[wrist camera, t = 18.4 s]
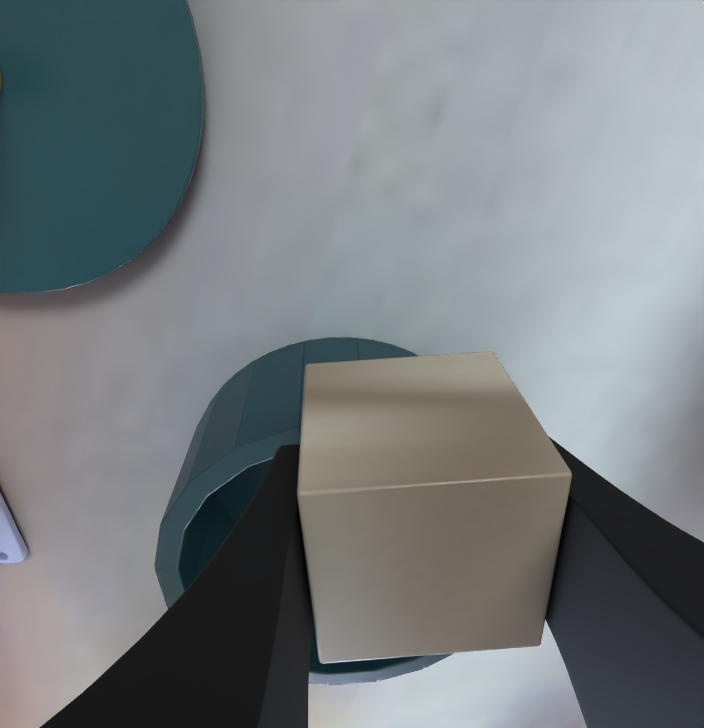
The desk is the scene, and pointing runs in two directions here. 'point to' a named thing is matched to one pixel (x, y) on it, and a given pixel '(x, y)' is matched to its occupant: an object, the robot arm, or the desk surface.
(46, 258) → the lid
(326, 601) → the block
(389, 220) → the desk surface
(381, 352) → the tin
